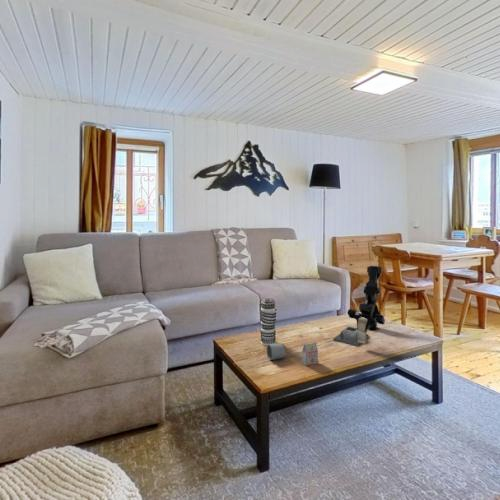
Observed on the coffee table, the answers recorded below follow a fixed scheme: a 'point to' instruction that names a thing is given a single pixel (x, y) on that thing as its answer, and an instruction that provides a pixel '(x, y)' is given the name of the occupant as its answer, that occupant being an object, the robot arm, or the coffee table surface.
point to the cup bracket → (348, 336)
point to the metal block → (362, 330)
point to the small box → (310, 354)
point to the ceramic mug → (276, 351)
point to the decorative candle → (268, 321)
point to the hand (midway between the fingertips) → (361, 330)
